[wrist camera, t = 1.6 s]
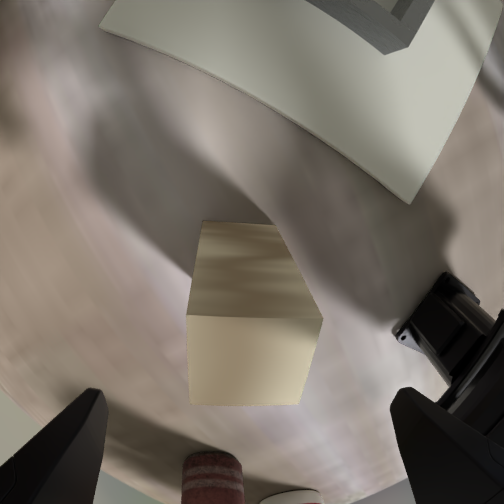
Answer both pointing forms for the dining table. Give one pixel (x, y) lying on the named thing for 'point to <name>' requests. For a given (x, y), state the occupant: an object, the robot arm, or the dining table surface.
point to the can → (212, 479)
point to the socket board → (331, 71)
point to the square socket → (379, 20)
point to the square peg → (248, 319)
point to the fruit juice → (295, 498)
